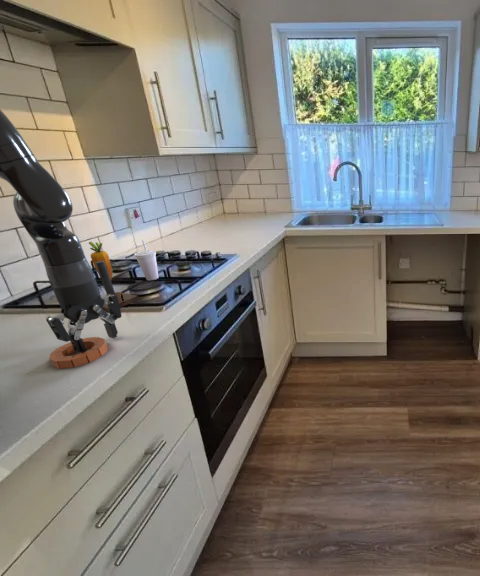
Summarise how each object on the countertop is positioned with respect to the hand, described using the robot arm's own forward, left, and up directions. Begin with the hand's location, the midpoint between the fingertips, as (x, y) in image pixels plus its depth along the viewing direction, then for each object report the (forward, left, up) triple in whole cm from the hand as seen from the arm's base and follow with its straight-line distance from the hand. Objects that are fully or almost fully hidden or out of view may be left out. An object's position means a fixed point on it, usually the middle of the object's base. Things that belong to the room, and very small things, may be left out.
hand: (98, 344), depth 86 cm
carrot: (+29, +40, -1) cm, 49 cm away
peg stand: (+18, +21, -1) cm, 28 cm away
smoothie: (+37, +29, -1) cm, 47 cm away
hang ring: (-4, 0, -1) cm, 4 cm away
